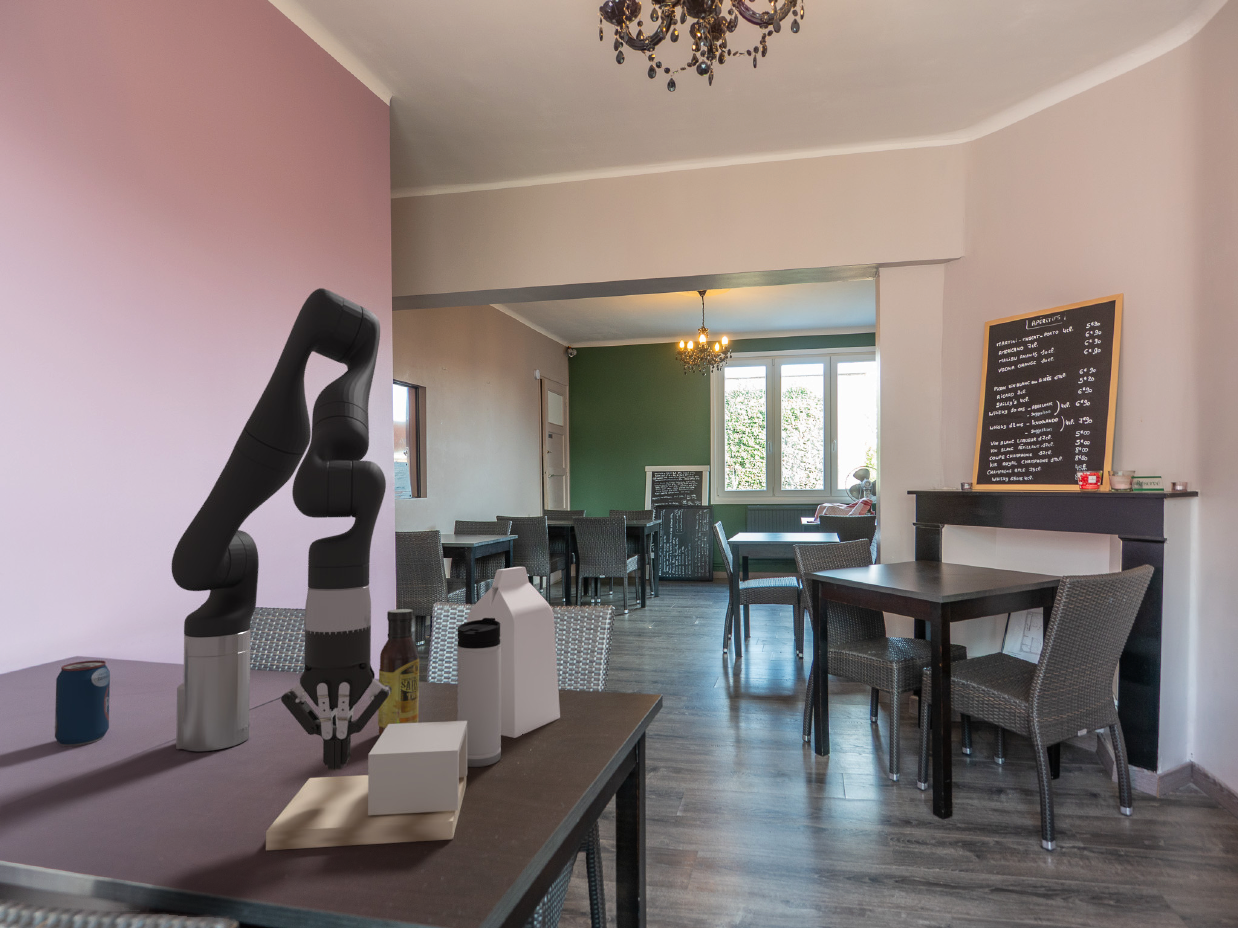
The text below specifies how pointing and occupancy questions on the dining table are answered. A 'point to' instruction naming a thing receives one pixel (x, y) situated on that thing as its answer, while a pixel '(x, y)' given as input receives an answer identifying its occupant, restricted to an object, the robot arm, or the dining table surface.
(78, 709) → the soda can
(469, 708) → the travel mug
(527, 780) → the dining table surface
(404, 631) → the sauce bottle
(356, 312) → the robot arm
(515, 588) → the milk
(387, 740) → the cover
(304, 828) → the board
